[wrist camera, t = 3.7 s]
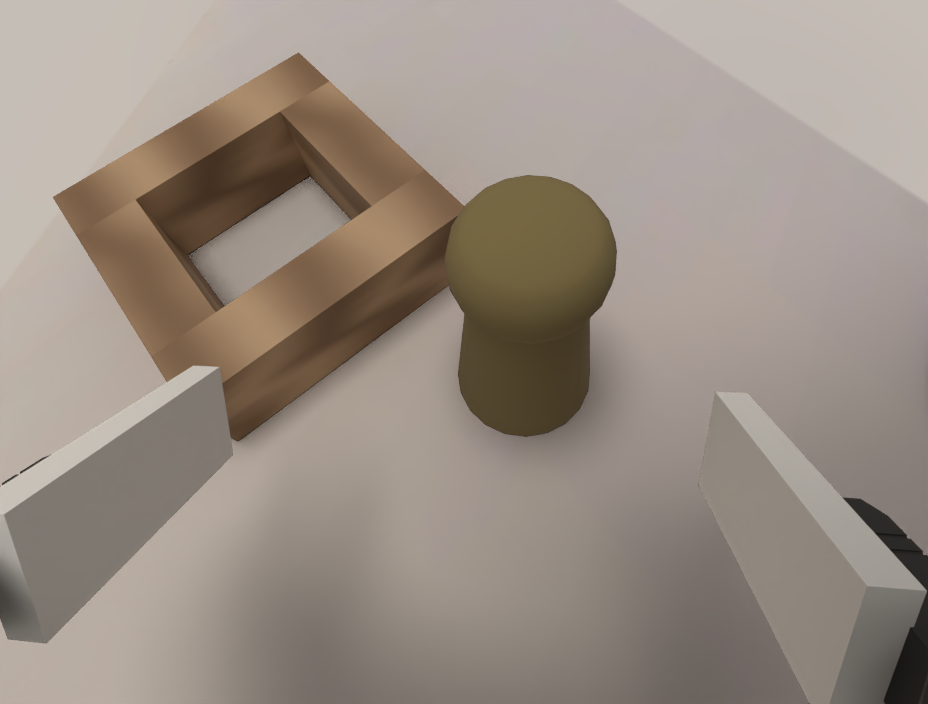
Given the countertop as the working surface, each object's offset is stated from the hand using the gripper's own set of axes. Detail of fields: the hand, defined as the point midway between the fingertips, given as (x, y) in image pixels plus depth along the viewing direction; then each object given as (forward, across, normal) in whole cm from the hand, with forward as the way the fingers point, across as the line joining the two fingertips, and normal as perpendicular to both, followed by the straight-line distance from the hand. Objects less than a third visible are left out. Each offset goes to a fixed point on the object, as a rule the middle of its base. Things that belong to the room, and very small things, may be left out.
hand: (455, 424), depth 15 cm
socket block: (+15, -11, +2) cm, 18 cm away
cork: (+11, +2, -3) cm, 11 cm away
